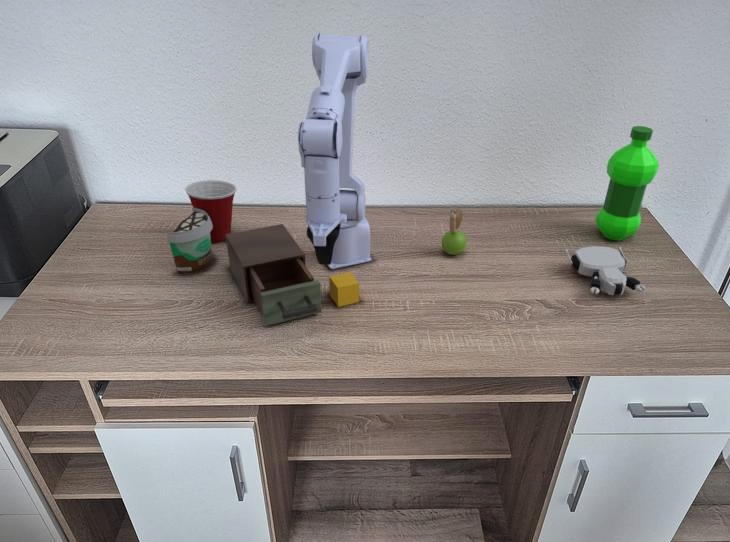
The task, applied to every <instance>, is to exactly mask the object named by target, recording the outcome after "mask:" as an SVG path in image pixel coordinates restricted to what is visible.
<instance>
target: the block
mask: <svg viewBox="0 0 730 542" xmlns="http://www.w3.org/2000/svg"><path fill="white" fill-rule="evenodd" d="M328 281H329V282H328V283H329V296H330V298H331V299H332V301H333V302H334V303H335V305H336V306H337V307H338V308H339V307H344V306H349V305H352V304H356V303H360V282H359V281H358V280H357V279H356V277H355V276H354V275H353V274H352V272H351V271H348V272H344V273H339V274H335V275H331V276H329V277H328Z"/></svg>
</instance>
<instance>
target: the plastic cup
mask: <svg viewBox="0 0 730 542" xmlns="http://www.w3.org/2000/svg"><path fill="white" fill-rule="evenodd" d="M237 189H238V188H237V186H236V185H235V184H233V183H232V182H229V181H224V180H215V179H210V180H209V179H207V180H200V181H199V180H198V181H195V182H191V183H190V184H187V186H185V188H184V191H185V193H186V195H187V196H188V198H189V201H190V203H191V206H192V208H197V209H200V210H203V211H205V212H206V213H207V214H208V216H209V217H210V219H211V222H212V224H213V228H212V230H211V231H210V238H211V244H212V243H213V244H215V243H216V244H217V243H223V242H226V236H225V234H230V233H232V220H233V205H234V197H235V194H236V192H237Z"/></svg>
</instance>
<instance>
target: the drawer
mask: <svg viewBox="0 0 730 542" xmlns="http://www.w3.org/2000/svg"><path fill="white" fill-rule="evenodd" d="M247 277H248V286H249V292H250V293H251V295H252V297H253V299H254V302H255V305H256V307H257V309H258V310H259V312H260V314H261V316H262V323H263V325H264V326H265V327H267V326H272V325H275V324H279V323H283V322H289V321H291V320H296V319H300V318H305V317H309V316H313V315H317V314H321V313H322V292H321V282H320V280H319V279H316V280H315V278H314V276H313V275H312V273H311V272H310V270H309V269H308V268H307V265H306V266H305V265H304V263H303V262H302V261H301V259H300V258H296V259H291V260H286V261H281V262H276V263H271V264H266V265H261V266H256V267H252V268H247Z"/></svg>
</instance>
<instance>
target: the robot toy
mask: <svg viewBox="0 0 730 542" xmlns="http://www.w3.org/2000/svg"><path fill="white" fill-rule="evenodd" d="M565 253H566V256H567V258H568V261H569V265H570V266H571V267H572V268H573V269H574V271H577V273H578V274H579V275H582V276H584V277H589V278H591V279H592V280H591V281H590V284H589V292H590V294H595V295H598V294H599V293H600V291H601V292H602V293H605V294H607V295H609V296H614V295H616V296H619V295H621V296H622V295H623V294H624V293H625V289H626V287H627V288H629V289H630V290H632V291H636V292H639V293H641V292H645V290H646V287H645V286H644V285H643V284H641V281H640V280H638V279H637V278H636V277H633V276H626V275H625V272H624V269H625V268H626V266H627V261H628V259H627V258H626V257H625V255H624V252H623V250H622V247H621V246H618V249H616V248H613V247H608V246H597V245H595V246H594V245H593V246H586V247H581V248H579V249H575V251H573V254H572V255H571V256H570V254H569V250H568V249H567V248H566V249H565Z"/></svg>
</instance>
